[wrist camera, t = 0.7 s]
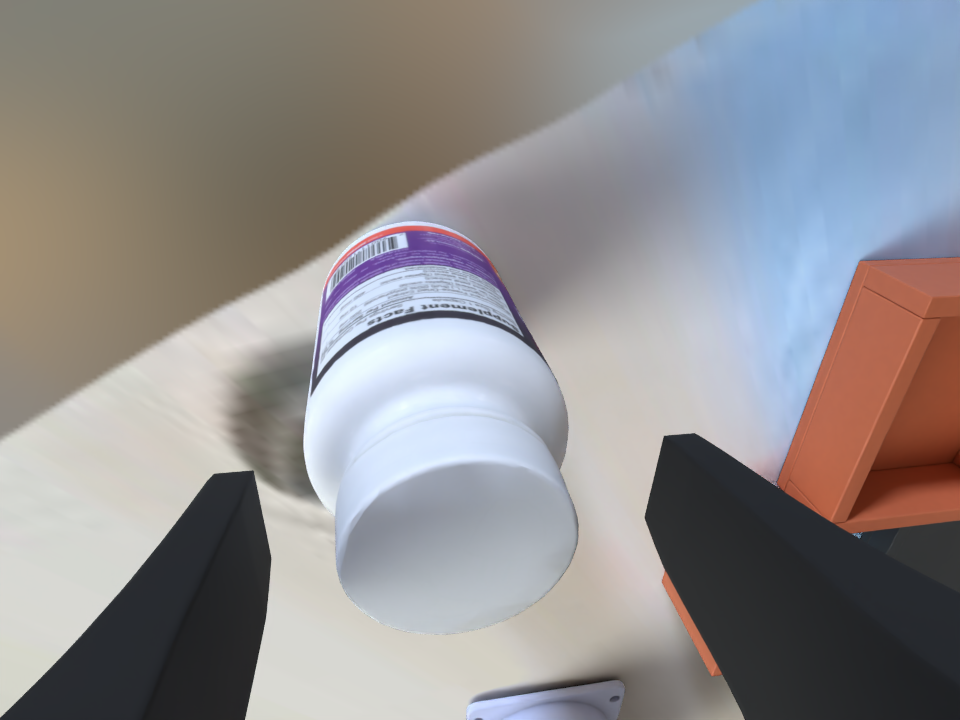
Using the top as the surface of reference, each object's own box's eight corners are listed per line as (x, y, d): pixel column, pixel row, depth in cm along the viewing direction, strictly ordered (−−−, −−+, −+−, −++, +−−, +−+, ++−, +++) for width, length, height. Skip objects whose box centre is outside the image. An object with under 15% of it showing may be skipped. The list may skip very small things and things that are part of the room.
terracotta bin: (948, 465, 26) (1011, 514, 24) (775, 483, 25) (823, 537, 22) (1066, 252, 21) (1162, 285, 19) (858, 260, 20) (932, 296, 17)
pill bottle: (482, 387, 20) (570, 658, 11) (314, 373, 18) (277, 669, 10) (520, 230, 17) (668, 433, 9) (329, 201, 16) (296, 407, 8)
